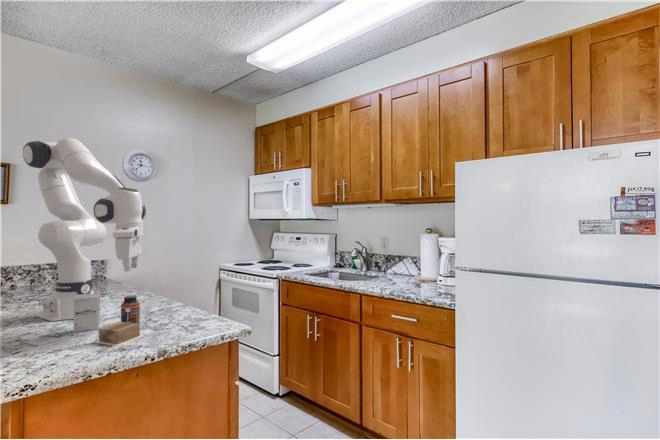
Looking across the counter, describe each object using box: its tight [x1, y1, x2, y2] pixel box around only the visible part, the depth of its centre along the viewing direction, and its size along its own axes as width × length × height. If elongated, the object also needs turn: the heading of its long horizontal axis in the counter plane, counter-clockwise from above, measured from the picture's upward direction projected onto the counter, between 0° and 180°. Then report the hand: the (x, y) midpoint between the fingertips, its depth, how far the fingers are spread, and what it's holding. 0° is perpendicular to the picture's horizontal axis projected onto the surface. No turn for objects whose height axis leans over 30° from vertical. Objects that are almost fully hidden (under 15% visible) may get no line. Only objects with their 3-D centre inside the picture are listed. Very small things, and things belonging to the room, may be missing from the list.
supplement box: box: [73, 292, 102, 334], centre depth 126 cm, size 7×7×13 cm
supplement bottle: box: [120, 295, 141, 324], centre depth 130 cm, size 6×6×11 cm
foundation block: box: [98, 321, 141, 344], centre depth 114 cm, size 8×8×4 cm
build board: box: [93, 334, 145, 347], centre depth 116 cm, size 18×14×1 cm
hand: (131, 269), depth 130 cm, fingers open, 8 cm apart
